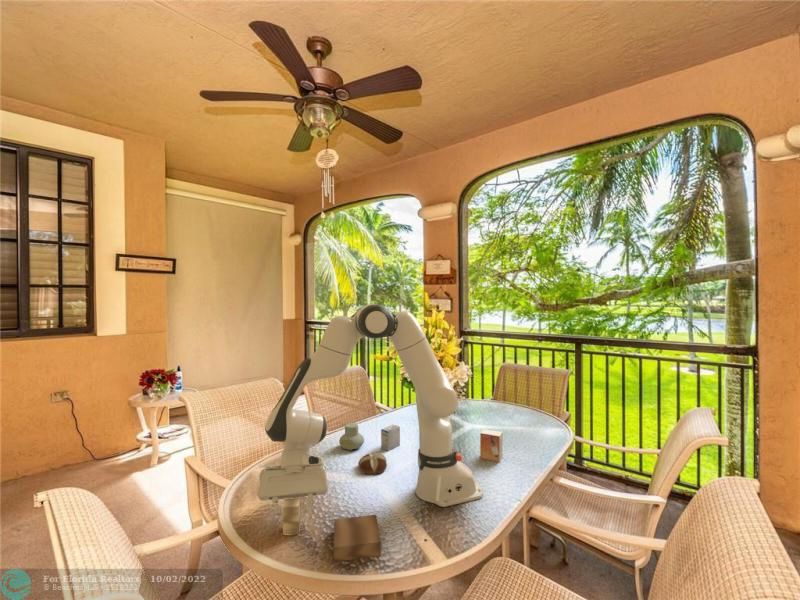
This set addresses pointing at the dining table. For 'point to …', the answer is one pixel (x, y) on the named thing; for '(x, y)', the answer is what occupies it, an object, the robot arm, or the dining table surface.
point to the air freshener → (351, 437)
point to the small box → (491, 445)
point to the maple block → (291, 516)
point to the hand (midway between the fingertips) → (292, 513)
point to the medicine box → (390, 437)
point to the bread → (373, 463)
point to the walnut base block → (356, 538)
